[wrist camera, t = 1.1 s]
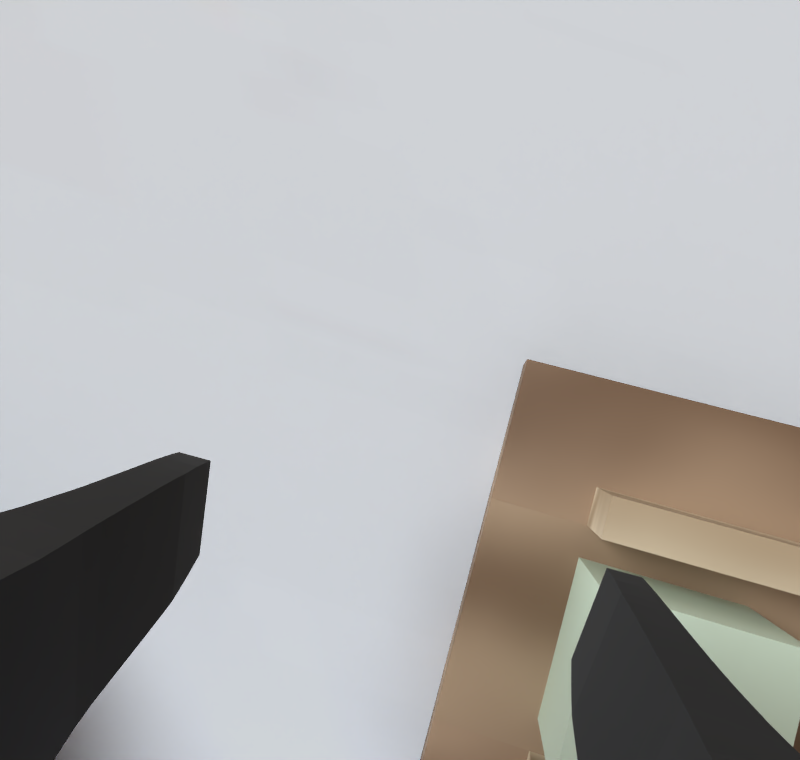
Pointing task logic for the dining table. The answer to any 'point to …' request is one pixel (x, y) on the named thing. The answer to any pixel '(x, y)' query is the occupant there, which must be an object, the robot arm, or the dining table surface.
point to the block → (714, 632)
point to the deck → (609, 536)
